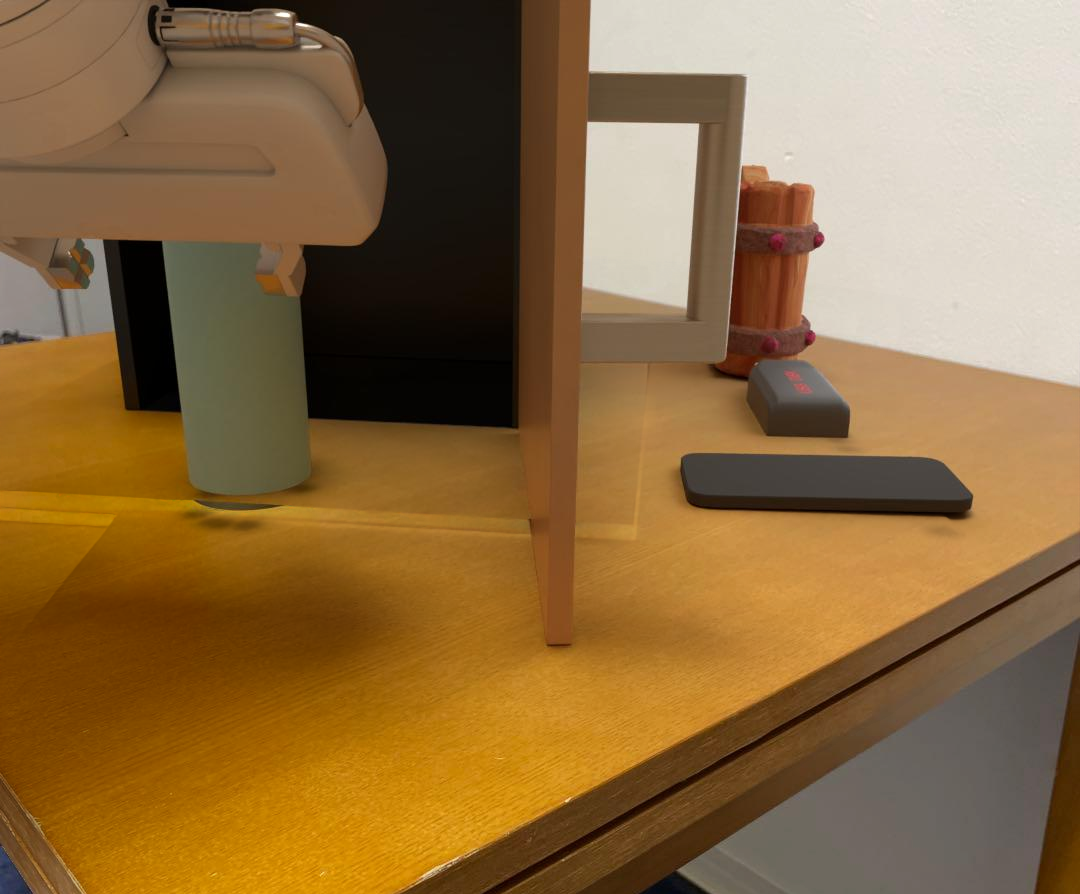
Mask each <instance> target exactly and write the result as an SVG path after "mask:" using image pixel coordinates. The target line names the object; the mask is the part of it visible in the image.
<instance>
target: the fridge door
mask: <svg viewBox="0 0 1080 894" xmlns="http://www.w3.org/2000/svg"><path fill="white" fill-rule="evenodd" d="M591 16H592V0H522V41H521V167H520V292H519V417H518V429H517V430H518V431H517V432H518V440H519V446H520V453H521V460H522V468H523V473H524V480H525V488H526V494H527V501H528V506H529V508H528V509H529V513H530V518H528V522H529V523H528V524H529V529H530V536H531V544H532V550H533V557H534V563H535V571H536V577H537V578H536V579H537V585H538V590H539V591H538V592H539V600H540V606H541V613H542V619H543V627H544V634H545V640H546V645H572V643H573V626H574V625H573V622H574V591H575V590H574V589H575V587H574V586H575V584H574V583H575V582H574V581H575V558H576V557H575V552H576V525H577V524H576V523H577V522H576V521H577V520H576V519H577V491H578V489H577V487H578V456H579V455H578V453H579V451H578V450H579V422H580V421H579V420H580V391H581V390H580V388H581V384H580V383H581V364H589V365H591V364H596V365H597V364H598V365H599V364H607V365H609V364H614V365H615V364H618V365H619V364H620V365H621V364H623V365H627V364H631V365H632V364H638V365H639V364H641V365H642V364H643V365H646V364H648V365H649V364H650V365H651V364H652V365H653V364H656V365H657V364H659V365H660V364H665V365H666V364H667V365H670V364H671V365H672V364H675V365H677V364H678V365H679V364H680V365H682V364H683V365H684V364H685V365H686V364H690V365H691V364H694V365H695V364H698V365H699V364H700V365H701V364H703V365H704V364H705V365H706V364H714V363H720V362H723V361H725V359H726V352H727V340H728V327H729V315H730V303H731V291H732V278H733V266H734V254H735V241H736V229H737V217H738V205H739V192H740V180H741V168H742V166H743V155H744V142H745V132H746V131H745V130H746V116H747V104H748V93H749V80H750V77H749V74H747V73H719V72H717V73H714V72H713V73H711V72H709V73H708V72H663V71H662V72H661V71H660V72H657V71H656V72H655V71H652V72H651V71H606V70H605V71H601V70H599V71H597V70H590V55H591V54H590V51H591V20H592V19H591V18H592V17H591ZM588 123H625V124H626V123H627V124H628V123H629V124H633V123H634V124H692V125H693V124H698V133H697V134H698V135H697V148H696V149H697V150H696V164H695V176H694V177H695V180H694V195H693V206H692V207H693V210H692V225H691V239H690V240H691V241H690V252H689V253H690V254H689V267H688V268H689V269H688V285H687V300H686V313H684V312H683V313H672V312H671V313H667V312H665V313H663V312H662V313H659V312H658V313H656V312H655V313H651V312H649V313H648V312H647V313H646V312H643V313H641V312H640V313H639V312H634V313H633V312H630V313H629V312H623V313H622V312H617V313H616V312H583V286H584V285H583V284H584V256H585V255H584V254H585V253H584V252H585V250H584V249H585V217H586V190H587V189H586V188H587V187H586V184H587V155H588V154H587V152H588V150H587V149H588Z"/></svg>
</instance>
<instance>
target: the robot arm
mask: <svg viewBox="0 0 1080 894" xmlns="http://www.w3.org/2000/svg"><path fill="white" fill-rule="evenodd" d="M387 174H388V166H387V160H386V156H385V153H384V150H383V147H382V144H381V141H380V139H379V136H378V133H377V131H376V129H375V126H374V124H373V121H372V119H371V117H370V115H369V113H368V110H367V108H366V106H365V104H364V93H363V90H362V86H361V82H360V78H359V75H358V71H357V68H356V65H355V61H354V58H353V55H352V53H351V51H350V49H349V47H348V46H347V44H346V43H345V42H344V41H343V40H342V39H341V38H339V37H336V36H332V35H331V34H329V33H328V32H326V31H324V30H322V29H320V28H317V27H315V26H312V25H309V24H304V23H300V21H299V18H298V16H297V15H296V13H294V12H290V11H287V10H281V9H270V8H264V9H255V10H253V11H252V12H230V11H223V10H216V9H206V8H169V7H168V4H167V1H166V0H0V252H1V253H3V254H4V255H7V256H9V257H10V258H12V259H14V260H16V261H18V262H19V263H22V264H23V265H25V266H27V267H29V268H33V269H35V270H36V272H37V273H38V274H39V276H40V277H41V278H42V279H43V280H44V282H45V283H46V284H47V285H48V287H49V288H50V289H52V290H88V288H89V287H90V284H91V280H90V278H89V277H90V276H91V275H92V274H93V273H94V270H95V258H94V255H93V254H92V251H91V250H90V249H87V248H86V247H85V246H86V244H85V242H84V240H103V239H111V240H150V241H188V242H225V243H261V247H260V251H259V253H260V255H261V258H260V259H259V260H258V261H257V264H256V269H255V274H254V275H255V277H256V279H257V281H258V283H259V284H260V285H262V286H263V290H262V291H263V292H264V294H265V295H272V296H292V297H300V295H301V294H302V289H303V284H304V279H305V275H306V266H305V260H304V258H303V256H302V253H303V248H304V245H335V246H355V245H360V244H362V243H363V242H364V241H365V240H366V239H367V238H368V237H369V236H370V235H371V234H372V233H373V231H374V230H375V229H376V228H377V226H378V224H379V221H380V218H381V214H382V210H383V205H384V199H385V193H386V186H387Z"/></svg>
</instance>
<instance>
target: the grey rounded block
mask: <svg viewBox="0 0 1080 894" xmlns="http://www.w3.org/2000/svg"><path fill="white" fill-rule="evenodd" d="M747 379H748V381H747V391H746V402H747V404H748V405H749V408H750V409H751V411H752V413H753V415H754V417H755V419H756V420H757V422H758V424H759V425H760V428H761V429H762V431H763V433H764V434H765V436H766V437H784V438H785V437H788V438H789V437H790V438H827V439H828V438H831V439H832V438H834V439H836V438H838V439H839V438H840V439H848V438H849V431H850V423H851V408H850V405H849V403H848V402H847V400H846V399H845V398H844V397H843V395H841V394H840V393H839V391H838V390H837V388H835V387H834V386H833V384H832V383H831V382H830V381H829V380H828V378H826V376H825V375H824V374H823V373H822V372H820V371H819V370H818V369H817V368H816V367H815V366H814V365H812V364H811V363H809V362H808V361H807V360H804V359H803V360H802V359H797V360H761V361H760V362H759V363H756V364H755V366H754V367H753V369H752V370H751V371H750V372H749V378H747Z"/></svg>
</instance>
